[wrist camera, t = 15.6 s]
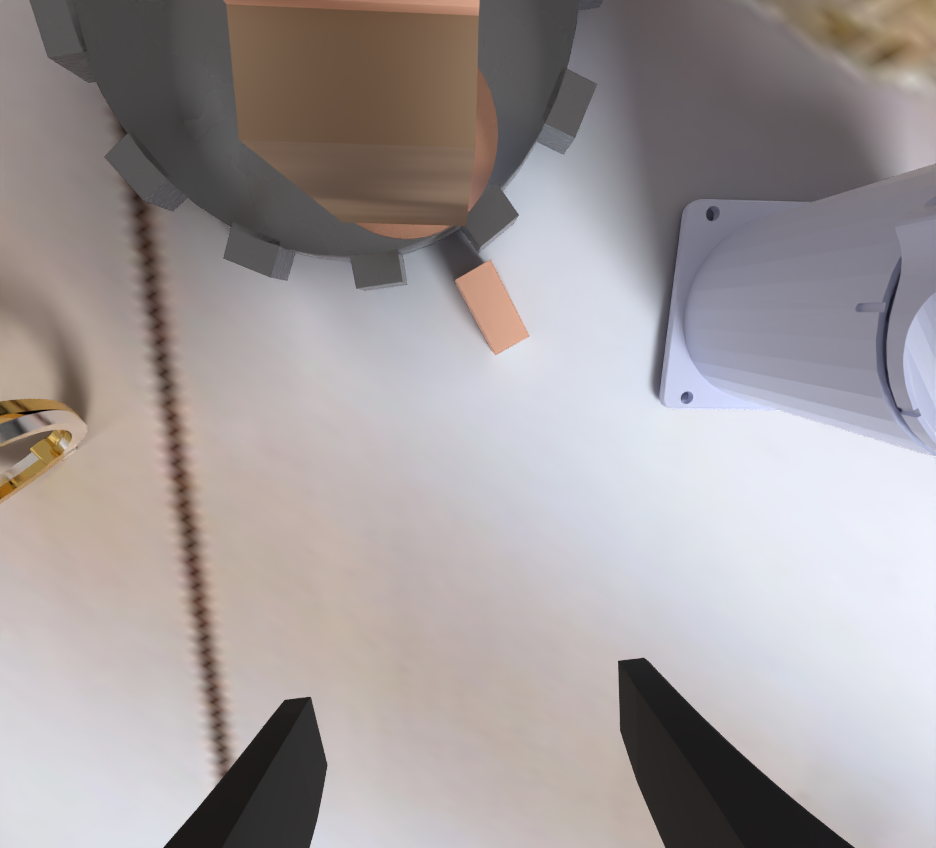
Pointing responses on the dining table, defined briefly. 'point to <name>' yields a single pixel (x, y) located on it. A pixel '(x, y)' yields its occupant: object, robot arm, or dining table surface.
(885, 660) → the dining table surface
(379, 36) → the wooden block
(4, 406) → the ring
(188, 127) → the sprocket
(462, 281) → the peach rectangular prism
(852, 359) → the robot arm
